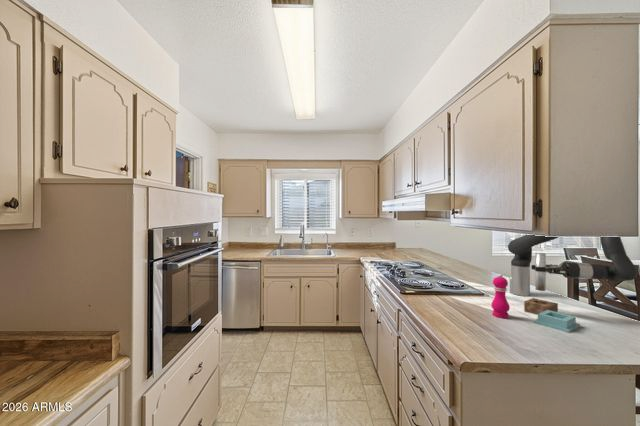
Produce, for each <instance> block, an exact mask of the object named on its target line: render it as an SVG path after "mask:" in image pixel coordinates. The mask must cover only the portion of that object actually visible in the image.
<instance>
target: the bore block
mask: <svg viewBox="0 0 640 426" xmlns="http://www.w3.org/2000/svg"><path fill="white" fill-rule="evenodd" d="M523 304H524V307H523V308H524V309H523V311H524V312H525V313H526V312H527V313H528V314H529V313H530V314H533V315H537V316H538V314H539V313H541V312H544V311H546V310H550V311H554V312H558V313H559V311H558V310H559V309H558V308H559V306H558V305H559V304H558V303H557V302H553V301H548V300H545V299H544V300H543V299H539V298H536V297H532V298H530V299H527V300H524V302H523Z"/></svg>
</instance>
